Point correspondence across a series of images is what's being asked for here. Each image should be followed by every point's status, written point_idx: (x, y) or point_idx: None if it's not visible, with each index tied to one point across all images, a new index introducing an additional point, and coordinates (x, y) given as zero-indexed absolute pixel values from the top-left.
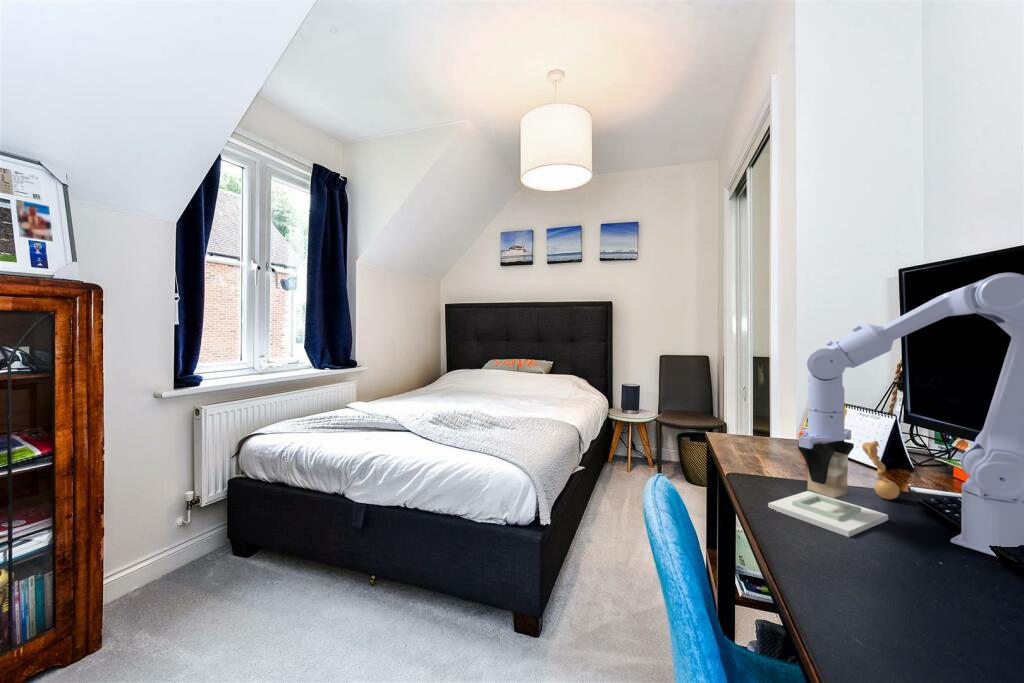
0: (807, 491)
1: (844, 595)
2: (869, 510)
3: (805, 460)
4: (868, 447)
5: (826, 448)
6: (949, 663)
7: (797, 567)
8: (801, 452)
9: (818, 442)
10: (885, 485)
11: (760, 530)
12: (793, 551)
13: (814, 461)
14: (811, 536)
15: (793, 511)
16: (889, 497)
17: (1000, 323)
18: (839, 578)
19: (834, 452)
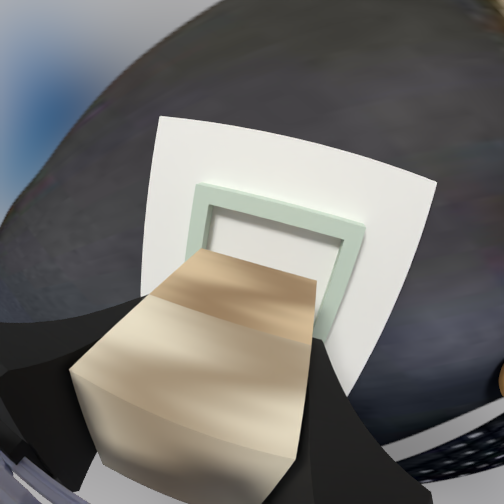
0: (428, 182)
1: (12, 321)
2: (349, 370)
3: (62, 321)
4: None
5: (291, 487)
6: None
7: (9, 272)
8: (6, 326)
9: (13, 471)
10: None
11: (42, 181)
12: (28, 257)
13: None
14: (89, 269)
15: (151, 204)
16: (499, 375)
17: None
18: (27, 318)
19: (240, 497)
